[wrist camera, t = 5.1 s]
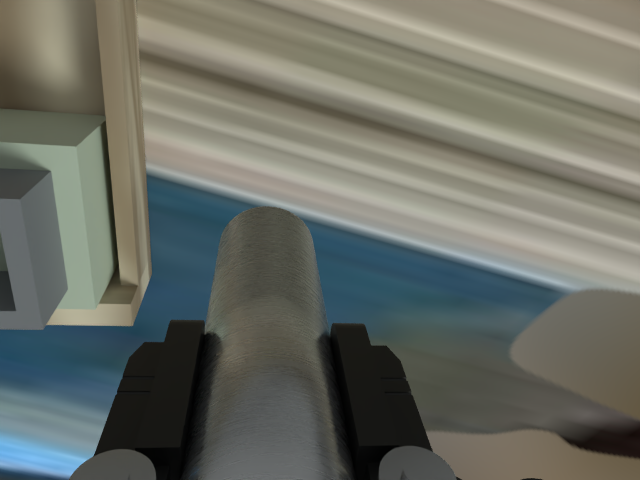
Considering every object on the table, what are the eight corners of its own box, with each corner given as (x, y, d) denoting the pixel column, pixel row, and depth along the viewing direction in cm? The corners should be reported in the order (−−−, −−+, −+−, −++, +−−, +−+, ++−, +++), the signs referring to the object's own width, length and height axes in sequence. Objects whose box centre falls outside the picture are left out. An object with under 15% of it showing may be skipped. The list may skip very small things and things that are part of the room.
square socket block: (110, 115, 29) (48, 171, 20) (122, 256, 33) (74, 351, 24) (-65, 104, 28) (-207, 158, 19) (-30, 251, 32) (-136, 349, 23)
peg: (317, 208, 16) (500, 1010, 4) (309, 290, 17) (421, 1082, 5) (219, 204, 16) (40, 1083, 3) (219, 287, 17) (92, 1138, 4)
